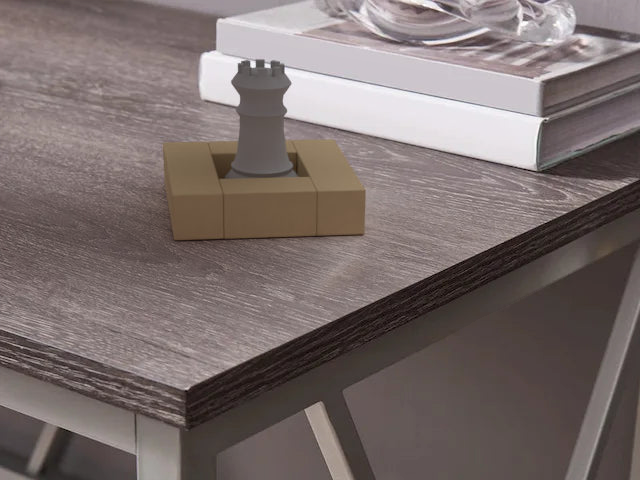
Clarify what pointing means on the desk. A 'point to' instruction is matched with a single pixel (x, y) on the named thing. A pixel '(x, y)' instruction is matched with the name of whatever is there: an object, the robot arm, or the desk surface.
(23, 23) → the desk surface
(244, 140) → the rook chess piece
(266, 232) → the socket pad
